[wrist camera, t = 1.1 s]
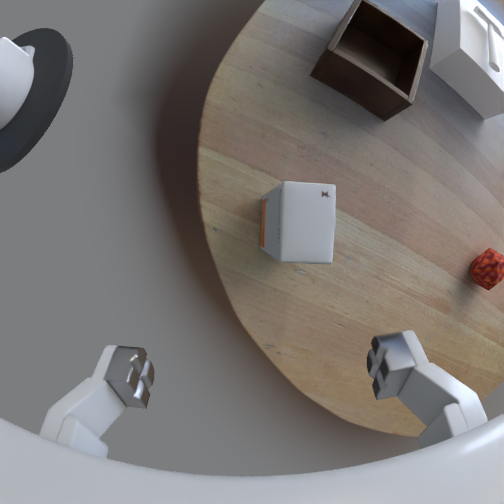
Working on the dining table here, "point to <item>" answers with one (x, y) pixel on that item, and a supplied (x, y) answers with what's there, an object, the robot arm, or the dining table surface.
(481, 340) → the dining table surface
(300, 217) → the cosmetic box
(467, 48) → the hammer relief block
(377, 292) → the dining table surface
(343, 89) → the holder
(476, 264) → the decorative stone
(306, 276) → the dining table surface
